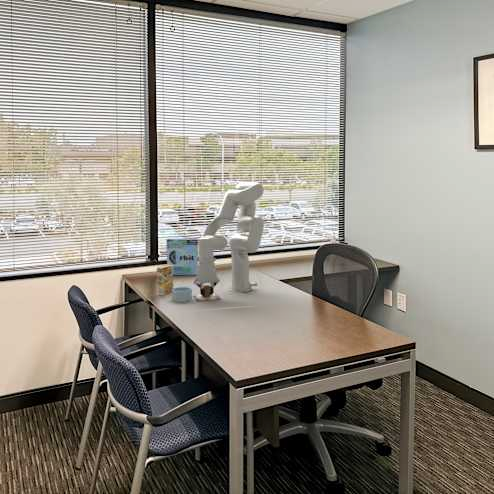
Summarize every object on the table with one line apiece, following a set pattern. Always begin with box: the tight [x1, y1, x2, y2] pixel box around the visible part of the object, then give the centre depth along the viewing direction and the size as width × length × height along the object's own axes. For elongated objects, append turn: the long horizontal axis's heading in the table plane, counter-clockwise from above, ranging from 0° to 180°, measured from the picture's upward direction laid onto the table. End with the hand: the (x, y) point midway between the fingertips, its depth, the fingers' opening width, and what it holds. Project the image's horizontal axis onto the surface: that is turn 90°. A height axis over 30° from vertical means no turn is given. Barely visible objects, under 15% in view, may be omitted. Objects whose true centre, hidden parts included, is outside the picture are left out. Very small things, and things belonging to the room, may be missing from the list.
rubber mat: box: [192, 293, 223, 303], centre depth 279 cm, size 13×13×1 cm
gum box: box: [166, 238, 199, 276], centre depth 338 cm, size 20×5×23 cm, turn 85°
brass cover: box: [195, 284, 220, 302], centre depth 278 cm, size 12×12×6 cm
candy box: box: [156, 264, 174, 297], centre depth 289 cm, size 9×4×15 cm, turn 150°
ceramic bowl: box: [171, 286, 193, 303], centre depth 275 cm, size 10×10×6 cm
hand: (206, 294), depth 278 cm, fingers open, 4 cm apart
